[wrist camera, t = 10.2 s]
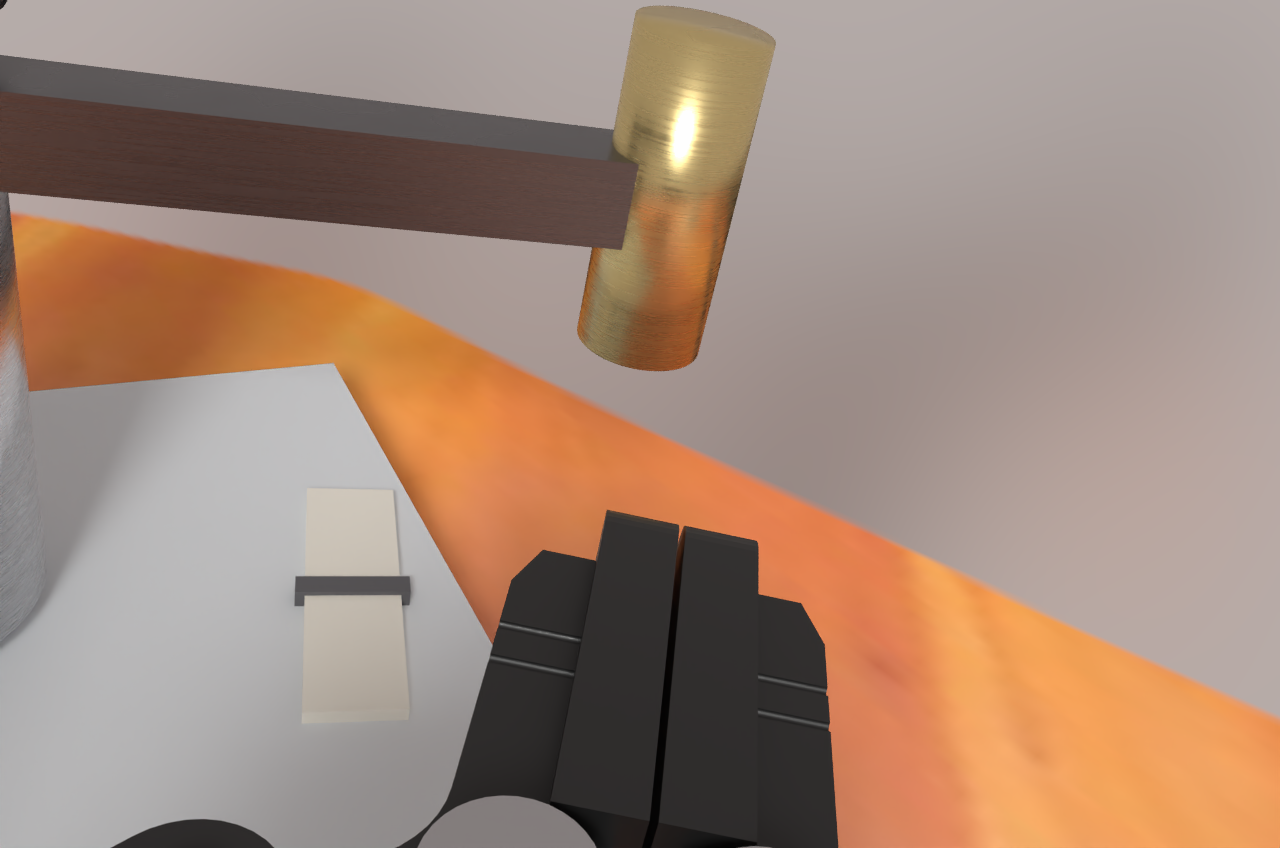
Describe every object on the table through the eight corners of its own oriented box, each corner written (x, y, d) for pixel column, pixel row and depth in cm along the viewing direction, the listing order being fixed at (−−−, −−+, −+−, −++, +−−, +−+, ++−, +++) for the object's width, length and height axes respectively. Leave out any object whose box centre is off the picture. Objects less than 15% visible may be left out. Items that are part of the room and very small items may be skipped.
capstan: (-429, 719, 19) (-787, -118, 12) (-254, 475, 24) (-438, -198, 17) (664, 703, 24) (836, 102, 17) (609, 504, 29) (724, -13, 22)
